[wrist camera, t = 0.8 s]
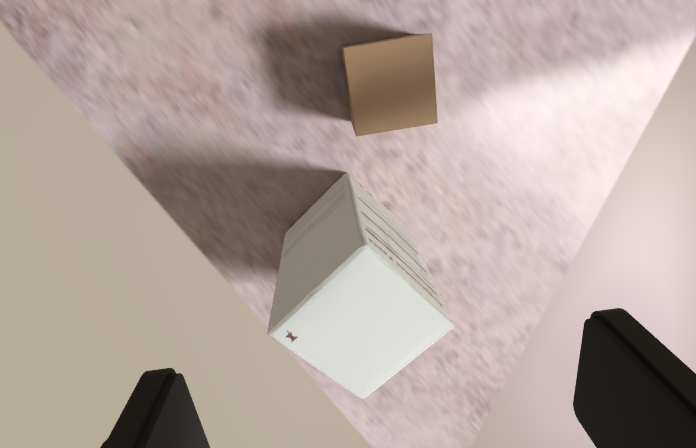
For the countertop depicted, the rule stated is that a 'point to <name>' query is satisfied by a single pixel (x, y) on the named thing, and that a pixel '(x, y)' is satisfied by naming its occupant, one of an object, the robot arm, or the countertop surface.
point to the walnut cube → (390, 83)
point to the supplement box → (355, 291)
